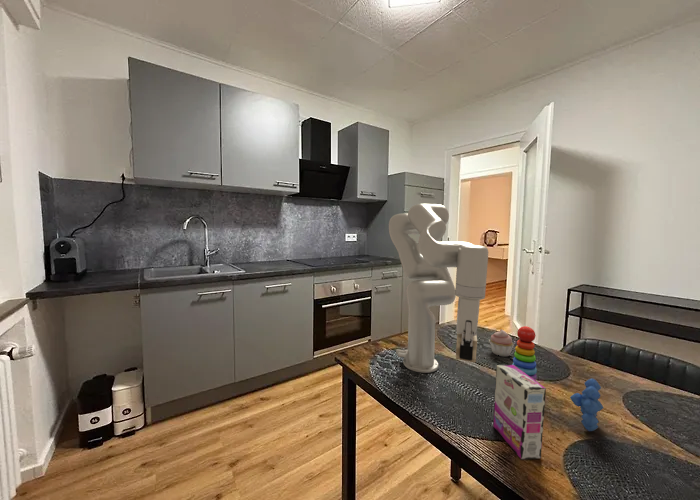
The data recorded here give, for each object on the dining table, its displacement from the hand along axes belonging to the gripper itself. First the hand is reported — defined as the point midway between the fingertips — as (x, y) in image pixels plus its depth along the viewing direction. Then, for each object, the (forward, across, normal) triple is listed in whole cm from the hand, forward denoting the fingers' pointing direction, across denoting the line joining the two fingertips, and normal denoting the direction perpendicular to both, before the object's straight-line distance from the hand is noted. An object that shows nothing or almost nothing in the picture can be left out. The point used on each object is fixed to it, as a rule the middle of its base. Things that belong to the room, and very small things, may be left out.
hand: (465, 353), depth 80 cm
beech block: (+1, 0, 0) cm, 1 cm away
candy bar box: (+15, +10, +12) cm, 22 cm away
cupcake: (+17, -43, +15) cm, 48 cm away
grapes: (+15, -4, +30) cm, 34 cm away
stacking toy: (+16, -21, +19) cm, 32 cm away
